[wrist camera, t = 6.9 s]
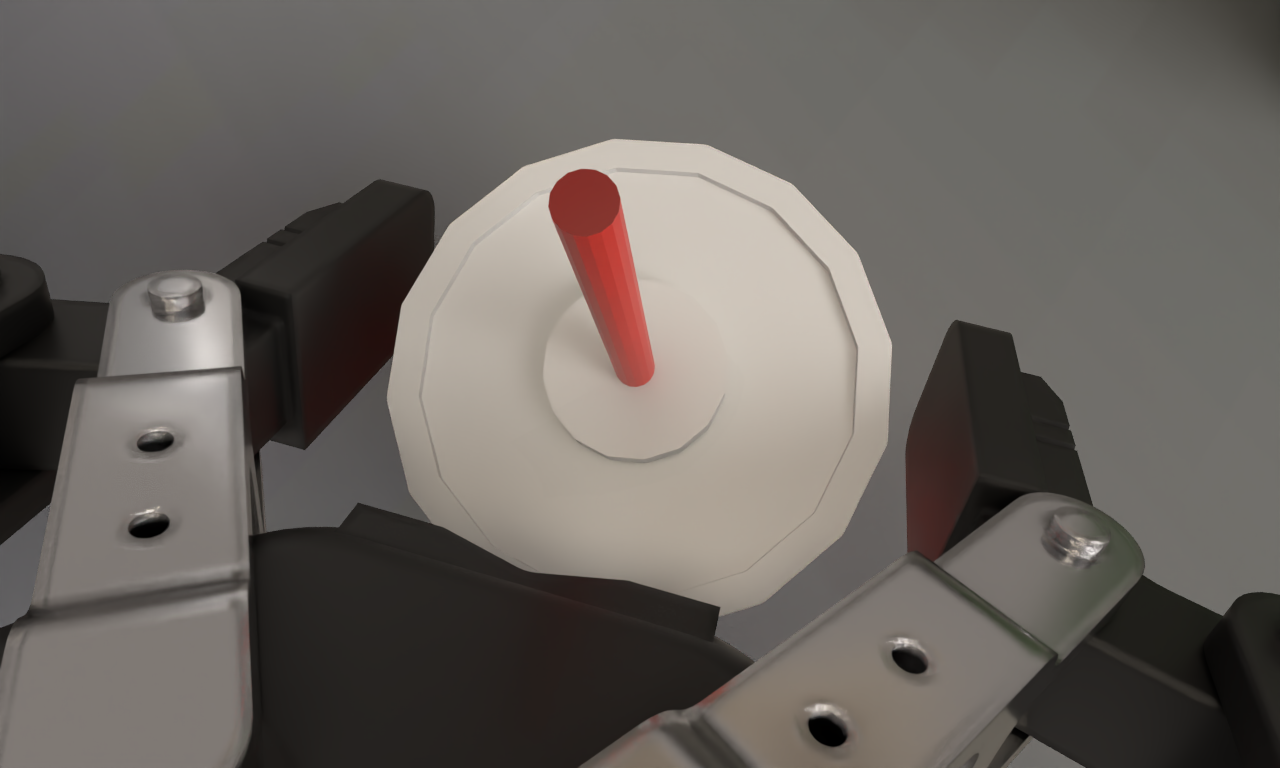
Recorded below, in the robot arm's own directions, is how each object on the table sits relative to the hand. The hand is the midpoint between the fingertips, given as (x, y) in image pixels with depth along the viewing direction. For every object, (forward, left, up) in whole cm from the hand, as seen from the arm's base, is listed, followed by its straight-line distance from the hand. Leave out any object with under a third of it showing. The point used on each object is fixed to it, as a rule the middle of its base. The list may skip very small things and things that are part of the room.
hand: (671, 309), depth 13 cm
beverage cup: (+1, -1, -7) cm, 7 cm away
